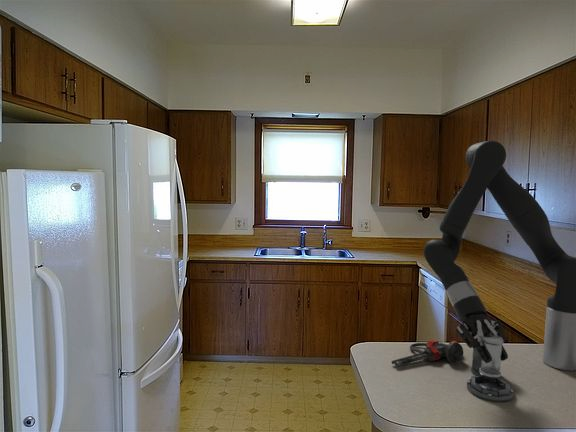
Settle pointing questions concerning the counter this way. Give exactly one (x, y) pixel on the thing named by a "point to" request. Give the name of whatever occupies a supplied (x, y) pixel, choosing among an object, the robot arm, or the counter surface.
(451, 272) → the robot arm
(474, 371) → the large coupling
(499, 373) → the fitting
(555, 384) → the counter surface
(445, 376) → the counter surface
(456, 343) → the valve
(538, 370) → the counter surface
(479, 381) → the flange
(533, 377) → the counter surface
